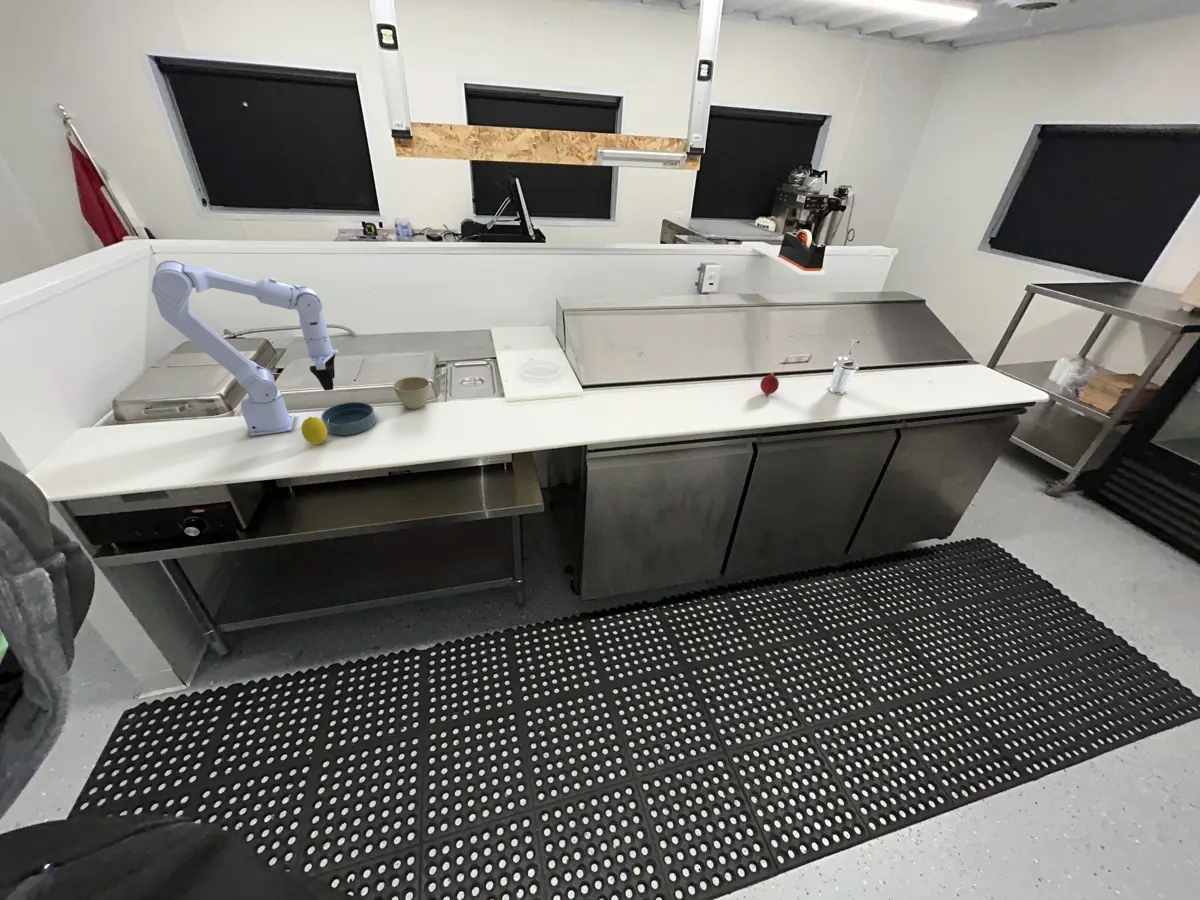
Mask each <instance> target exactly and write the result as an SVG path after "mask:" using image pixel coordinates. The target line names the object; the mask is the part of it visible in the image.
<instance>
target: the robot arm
mask: <svg viewBox="0 0 1200 900" xmlns="http://www.w3.org/2000/svg"><path fill="white" fill-rule="evenodd" d="M193 289H195V291H196V293H199V294H200V293H202V292H204V291H207V290H210V289H218V290H222V291H226V292H227V291H228V292H231V293H236V294H237V293H238V294H243V295H248V296H253V297H255V298H256V299H257V301H259V303H260V304H264V305H269V306H272V307H273V306H274V307H278V308H282V309H287V310H292V311H293V310H296V311H297V314H298V316H299V317H298V318H299V321H298V322H299V325H300V328H301V331H302V335H303V339H304V342H305V346H306V348H307V355H308V358H309V359H310V360H311V361H312V362H313V363H314V365H310V366H309V371H310V372H311V374H313V375H314V376H315V377H316V378H317V380H318V381H319V383H320V385H321V387H322V389H323V390H324V391H325V392H326V391H334V379H335V375H336V373H335V371H336V370H335V358H336V355H339V350H338V349H333V346H332V342H331V338H330V334H329V331H328V327H327V323H326V319H325V317H324V313H323V302H321V299H320V298H319V296H318V294H317V293H316V292H315V291H314V290H313V289H311V288H309V287H308V286H305V285H302V286H299V285H298V284H294V285H291V284H286V283H282V282H278V281H277V279H276V278H274V277H269V278H268V279H266V278H261V279H260V280H258V281H254V280H249V279H247V278H242V277H239V276H236V275H233V274H230V273H226V272H222V271H218V270H214V269H211V268H208V267H204V266H200V265H197V264H193V263H187V262H185V263H182V262H180V261H177V260H168V259H167V260H164V261H162V262H160V263H159V264H158V265H157V267H156V268H155V273H154V275H153V277H152V282H151V293H152V294H153V296H154V299H155V302H156V305H157V308H158V311H159V313H160V316H161V318H163V320H164V321H166V322H167V323H168V324H169V325H170V326H172V327H173V328H175V329H176V330H177V331H178V332H179V333H181V334H182V335H183V336H185V337H186V338H187V339H188V340H189V341H191V342H192V343H193V344H194V345H195V346H197V347H198V348H199V349H200V350H202V351H203V352H204V353H205V354H206V355H208V356H209V357H210V358H212V359H213V360H214V361H215V362H217V363H218V364H219V365H220V366H222V368H224V369H225V370H226V371H228V372H229V373H230V374H232V376H233V377H234V378H235V380H236V381H237V382H238V383H239V385H240V386H241V387H242V388H244V389H245V391H246V393H247V395H248V397H247V398H243V399H241V401H240V409H241V413H242V416H243V419H244V421H245V424H246V426H247V428H248V431H249V435H250V437H253V436H255V437H256V436H261V435H270V434H277V433H283V432H284V433H285V432H291V431H292V430H293V425H294V421H295V416H294V415H290V414H289V412H288V409H287V406H286V403H285V400H284V397H283V394H282V392H281V391H280V389H278V387H277V386H276V382H275V375H274V373H273V372H272V371H271V370H270V369H268V368H266V367H263V366H261V365H259V364H257V363H256V362H255V361H253V360H250V359H248V358H247V357H246V356H245V355H243V354H242V353H241V352H240V351H238V349H236V347H234V346H233V345H232V344H231V343H229V342H228V341H227V340H226V339H224V338H223V337H222V336H221V335H220V334H219V333H218V332H217V331H215V330H214V329H213V328H212V327H211V326H210V325H208V324H207V323H206V322H205V321H204V320H202V318H200V317H199V316H198V315H196V313H195V312H193V311H192V310H191V309H190V308H189V307H190V306H189V302H190V301H189V299H190V296H191V294H192V291H193Z"/></svg>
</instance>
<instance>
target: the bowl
mask: <svg viewBox="0 0 1200 900" xmlns="http://www.w3.org/2000/svg"><path fill="white" fill-rule="evenodd" d="M320 420H322V421H323V423H324V424H325V426H326V428H327V433H329V434H330V435H335V436H350V435H356V434H359V433H362V432H365V431H367V430H369V429H371V428H372V427H373V426H374V425H375V423H376V422H377V416H376V413H375V408H374V407H373V406H372V405H371V404H370V403H367V402H363V401H362V402H361V401H350V402H349V401H348V402H343V403H339V404H336V405H333V406H331V407H328V408H327V409H325V410H324V411H323V412H322V414H321V417H320Z"/></svg>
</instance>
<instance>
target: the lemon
mask: <svg viewBox="0 0 1200 900" xmlns="http://www.w3.org/2000/svg"><path fill="white" fill-rule="evenodd" d="M301 434H302V436H303V438H304V440H305V441H307V443H310V444H312V445H313V444H314V445H321V444H322V443H323V442H324V441H325V440H326V439H327V436H328V432H327V428H326V426H325V424H324V423H323V421H322V419H321V418H319V417H316V416H315V417H314V416H308V418H306V419H304V420H303V421H302V423H301Z"/></svg>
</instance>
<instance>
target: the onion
mask: <svg viewBox="0 0 1200 900" xmlns="http://www.w3.org/2000/svg"><path fill="white" fill-rule="evenodd" d="M779 381H780V380H779V379H778V377H777V376H775V373H774V372H773V371H771V372H770V374H768V375H766V376H764V377H763V378H762V379H761V380H760V386H759V387H760V390H761V391H762V392H763V394H764V395H767V396H769V395H771V394H772V395H773V394H775V392H776V391H777V390H778V389H779V385H780V382H779Z"/></svg>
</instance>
